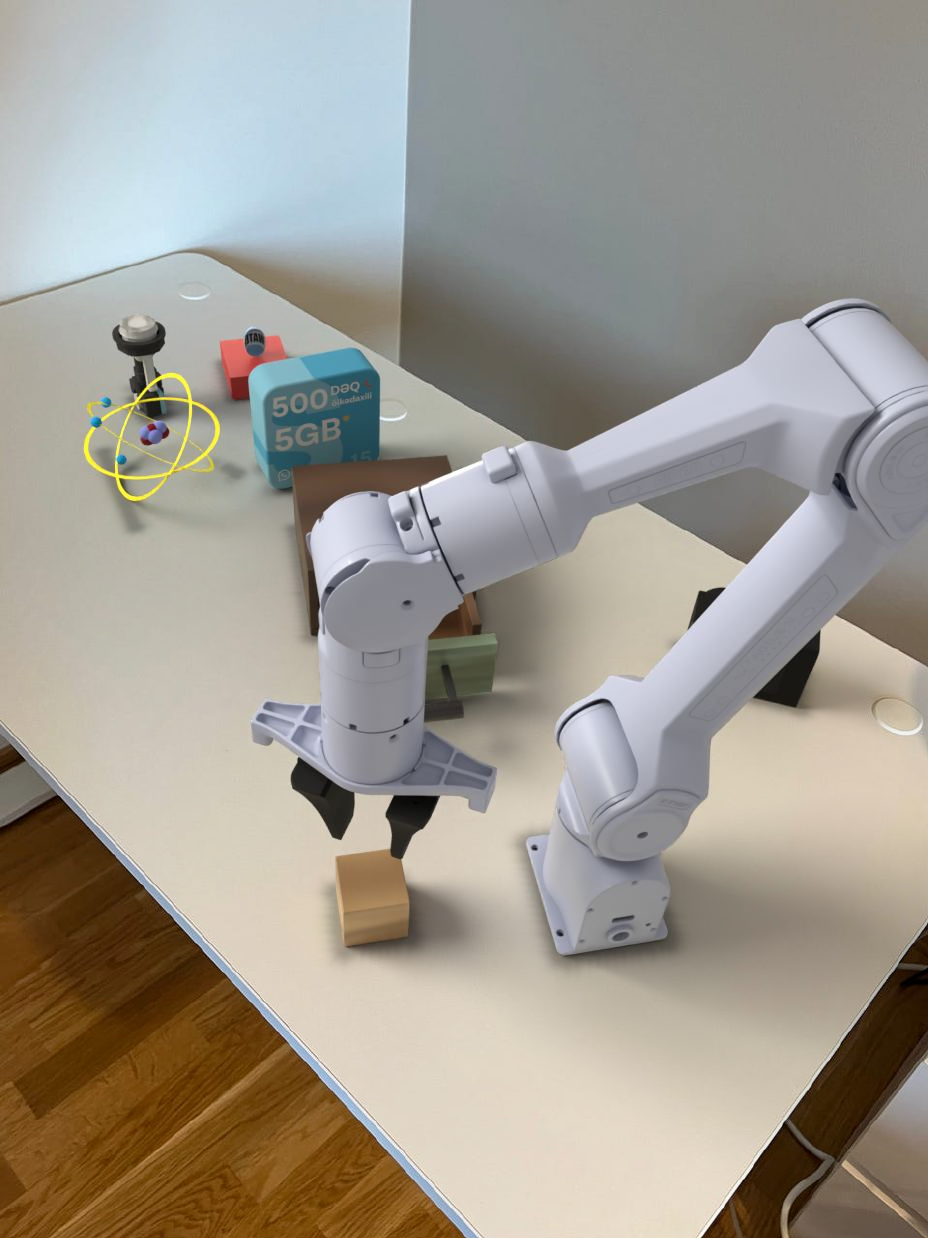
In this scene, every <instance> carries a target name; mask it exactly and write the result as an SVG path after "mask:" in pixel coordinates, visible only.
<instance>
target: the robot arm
mask: <svg viewBox="0 0 928 1238" xmlns="http://www.w3.org/2000/svg"><path fill="white" fill-rule="evenodd" d="M892 323H893V322H892V320H891V318H890V317H889V316H888V315H887V313H886V312H885V311H884V310H883V308H881V307H880V305H878V304H876V303H874V302H872V301H870V300H866V299H862V298H854V297H852V298H849V297H848V298H842V299H837V300H833V301H830V302H828V303H824V304H822V305H821V306H818V307H817V308H815V309H813V310H811V311H809V312H808V313H807V314H805V315H804V316H803V317H802V318H796V319H791V320H789V321H785V322H781V323H778V324H776V325H774V326H772V327H771V328H770V329H769V331H768V332H767V333H766V335H764V337H763V338H762V340H761V341H760V342H759V343H758V345H757V346H756V348H754V350H753V351H752V353H751V354H750V355H749V357H748V358H747V359H746V360H744V361H743V362H742V363H741V364H738V365H737V366H735V367H733V368H730V369H728V370H727V371H724V372H723V373H721V374H719V375H717V376H715V377H712V378H710V379H709V380H707V381H704V382H702V383H701V384H698V385H696V386H694V387H692V388H690V389H688V390H687V391H684V392H682V393H681V394H678V395H676V396H674V397H672V398H670V399H668V400H666V401H664V402H662V403H660V404H659V405H656V406H654V407H652V408H649V409H648V410H646V411H644V412H643V413H640V414H638V415H637V416H634V417H632V418H630V419H628V420H626V421H624V422H622V423H620V424H617V425H616V426H613V427H612V428H610V429H608V430H606V431H604V432H602V433H600V434H598V435H596V436H594V437H593V438H590V439H588V440H585V441H584V442H581V443H580V444H578V445H576V446H574V447H572V448H570V449H567V450H563V449H559V448H556V447H553V446H549V445H547V444H545V443H541V442H538V441H534V440H526V441H524V442H522V443H520V444H517V445H514V446H513V447H510V448H508V446H507V445H501V446H498V447H495V448H493V449H491V450H489V451H487V452H483V454H481V457H480V458H481V460H479V461H475V462H473V463H471V464H469V465H466V466H464V467H461V468H459V469H456V470H454V471H452V473H449V474H447V475H445V476H442V477H440V478H437V479H435V480H433V481H430V482H428V483H425V484H423V485H421V487H420V486H418V487H416V488H413V489H411V490H409V491H404V492H401V493H399V494H396V495H394V496H390V495H387V494H384V493H380V492H372V491H367V492H358V493H354V494H350V495H348V496H345V497H343V498H341V499H339V500H338V501H336V502H335V503H334V504H332V505H331V506H330V507H329V508H328V509H327V510H326V511H325V512H323V514H324V515H323V516H322V518H321V519H319V518H318V520H317V521H316V523H315V525H314V527H313V529H312V532H310V533H308V534H307V535H306V541H307V546H308V549H309V552H310V555H311V557H312V559H313V564H314V571H315V577H316V583H317V589H318V595H319V602H320V609H319V614H318V616H319V626H320V627H319V632H318V635H317V650H318V651H317V652H318V675H319V693H320V694H319V696H320V703H298V702H296V703H294V702H283V701H278V700H274V699H270V698H264V699H263V701H262V702H261V704H260V705H259V707H258V709H257V710H256V712H255V714H254V715H253V716H252V719H251V720H250V728H251V736H252V742H253V743H254V744H258V745H260V746H265V747H268V746H269V747H270V745H272V744H273V741H276V742H277V743H279V744H280V745H282V746H283V747H284V748H286V749H287V750H289V751H290V752H291V753H293V754H294V755H296V756H297V757H296V758H297V759H296V764H295V766H294V767H293V769H292V770H291V773H290V785H291V789H292V790H294V791H295V792H296V793H298V794H300V795H301V796H303V797H304V798H305V799H306V800H307V801H308V802H309V803H310V804H311V805H312V806H313V807H314V809H315V810H316V811H317V812H318V814H319V816H320V817H321V819H322V821H323V822H324V824H325V826H326V828H327V830H328V832H329V834H330V836H331V838H332V839H335V840H338V841H342V840H343V838H344V836H345V834H346V832H347V830H348V829H349V828H348V827H349V825H350V823H351V822H352V820H353V817H354V814H355V807H356V806H355V804H356V798H355V797H356V795H355V794H359V795H368V796H392V798H391V800H390V802H389V804H388V807H387V809H386V811H385V815H384V816H385V817H384V818H386V820H387V822H388V823H389V827H390V833H391V838H390V839H391V840H390V848H389V849H390V853H391V857H394V858H397V859H401V860H403V859H404V857H405V855H406V852H407V850H408V847H409V845H410V843H411V840H412V838H413V836H414V835H415V834H416V833H418V832H419V831H421V830H424V829H425V827H426V826H427V825H428V824H429V822H430V821H431V819H432V817H433V814H434V812H435V809H436V807H437V805H438V802H439V800H440V798H441V797H461V798H464V799H467V800H468V803H467V804H468V805H467V806H468V809H470V810H472V811H475V812H478V813H481V814H486V812H487V810H488V807H489V806H490V803H491V800H492V797H493V794H494V792H495V789H496V783H497V777H498V767H496V766H493V765H490V764H488V763H485V762H482V761H480V760H478V759H476V758H475V757H472V756H471V755H470V754H467V753H466V752H465V751H463V750H461V749H460V748H458V747H457V746H456V745H454V744H452V743H451V742H449V741H448V740H447V739H445V738H444V737H442V736H440V735H439V734H437V733H436V732H435V731H433V730H431V728H430V729H429V728H428V727H427V726H425V725H424V724H425V723H424V708H425V704H426V700H425V687H426V669H427V652H428V636H429V635H430V634H431V633H432V632H433V631H434V630H435V629H436V628H437V626H438V625H439V623H440V622H441V620H442V619H443V617H444V616H446V615H447V614H448V613H450V612H452V611H454V610H456V609H458V605H460V604H462V603H463V602H464V600H463V596H464V594H465V595H466V594H469V593H471V592H474V591H476V592H477V591H478V590H481V589H483V588H485V587H489V586H491V585H493V584H497V583H498V582H501V581H503V580H506V579H508V578H511V577H513V576H516V575H519V574H521V573H523V572H526V571H529V570H531V569H534V568H535V567H538V566H541V565H543V564H546V563H548V562H550V561H554V560H556V559H558V558H560V557H563V556H565V555H567V554H571V553H573V552H574V551H575V549H577V547H578V545H579V543H580V541H581V539H582V537H583V535H584V534H585V531H586V529H587V527H588V525H589V524H590V522H591V520H592V519H593V518H595V517H598V516H601V515H605V514H608V513H610V512H614V511H617V510H620V509H623V508H626V507H630V506H632V505H635V504H639V503H641V502H644V501H647V500H651V499H654V498H657V497H660V496H664V495H666V494H669V493H672V492H676V491H679V490H682V489H685V488H688V487H692V486H694V485H697V484H700V483H704V482H706V481H709V480H713V479H716V478H719V477H722V476H725V475H728V474H731V473H734V472H738V471H740V470H744V469H746V468H756V469H759V470H762V471H764V472H767V473H768V474H771V475H773V476H776V477H777V478H779V479H782V480H784V481H786V482H789V483H791V484H793V485H795V486H798V487H800V488H802V489H805V490H806V491H808V492H809V494H808V496H807V498H806V499H805V500H804V501H803V503H801V504H800V505H799V507H798V508H797V509H796V510H795V511H794V512H793V513H792V514H791V515H790V517H789V518H787V520H786V521H785V522H784V523H783V524H782V525H781V526H780V528H779V529H778V530H777V531H776V532H775V533H774V534H773V536H772V537H770V539H769V540H768V541H767V542H766V543H765V544H764V545H763V546H762V548H761V549H759V551H758V552H757V553H756V554H755V555H754V556H753V558H752V559H750V561H749V562H747V564H746V565H745V566H744V567H743V568H742V570H740V572H739V573H738V574H737V575H736V576H735V577H734V579H732V580H731V582H730V583H729V584H728V585H727V586H726V587H725V588H726V589H725V590H724V591H723V592H722V593H721V594H720V595H719V596H718V597H717V599H716V600H715V601H714V602H713V603H712V604H711V605H710V606H709V607H708V609H707V610H706V611H705V612H704V613H703V614H702V615H701V616H700V617H699V618H698V620H697V621H696V622H695V623H694V624H693V625H692V626H691V627H690V628H689V630H688V631H687V630H686V632H685V633H684V634H683V635H682V636H681V637H680V638H679V640H677V642H676V643H675V644H674V645H673V646H672V647H671V648H670V649H669V650H668V652H667V653H666V654H664V656H663V657H662V658H661V659H660V660H659V662H657V664H656V665H655V666H654V667H653V668H652V669H651V670H650V671H649V673H648V674H647V675H646V676H645V677H643V676H637V675H631V674H630V675H629V674H613V675H609V676H608V677H607V679H606V680H605V681H604V682H603V683H602V684H601V685H600V686H599V687H598V688H597V689H596V690H595V691H593V692H592V693H590V694H589V695H586V696H585V697H583V698H581V699H579V700H578V701H576V702H574V703H573V704H572V705H570V706H569V707H568V708H567V709H566V710H564V711H563V713H562V714H560V716H559V718H558V719H557V721H556V724H555V726H554V731H553V732H554V739H555V743H556V744H557V746H558V748H559V749H560V751H561V752H562V755H563V758H564V761H565V762H564V763H565V765H564V767H563V768H564V774H563V777H562V778H561V780H560V781H561V782H560V784H559V787H558V791H557V796H556V800H555V806H554V810H553V816H552V820H551V825H550V830H549V833H547V834H540V835H533V836H529V837H528V838H527V839H526V841H525V842H526V843H525V847H526V850H527V853H528V857H529V860H530V864H531V868H532V871H533V874H534V878H535V882H536V884H537V887H538V891H539V895H540V898H541V901H542V905H543V908H544V912H545V915H546V918H547V923H548V926H549V929H550V933H551V935H552V939H553V942H554V946H555V950H556V951H557V953H558V954H559V955H561V956H570V955H576V954H583V953H589V952H595V951H601V950H607V949H613V948H619V947H626V946H631V945H637V944H642V943H649V942H655V941H660V940H665V939H666V938H667V936H668V933H669V931H668V927H667V925H666V921H665V919H664V914H665V912H666V910H667V907H668V904H669V901H670V899H671V895H672V889H671V884H670V881H669V879H668V875H667V872H666V870H665V867H664V863H663V857H662V852H664V851H666V850H667V849H669V848H670V847H671V846H673V845H674V844H675V843H676V842H677V841H678V840H679V838H681V836H682V835H683V834H684V833H685V831H686V829H687V827H688V826H689V822H690V820H691V816H692V815H693V813H694V812H695V810H696V809H697V808H698V807H699V806H700V805H701V804H702V803H703V802H705V800H706V799H707V798H708V796H709V789H710V769H711V747H712V746H711V744H712V739H713V738H714V737H715V736H716V735H717V734H718V733H719V732H720V731H721V730H722V729H723V728H724V727H725V726H726V725H727V724H728V723H729V722H730V721H732V719H733V718H734V717H735V716H736V715H737V714H738V713H739V712H740V711H741V710H742V709H743V708H744V707H745V706H746V705H747V704H748V703H749V702H750V701H751V700H752V699H753V698H754V696H755V695H756V694H757V693H758V692H759V691H760V690H761V689H762V688H763V687H764V686H765V685H766V684H767V683H768V682H769V681H770V680H771V679H772V678H773V677H774V676H775V675H776V674H777V673H778V672H779V671H780V670H781V669H782V668H783V667H784V666H785V665H786V664H787V663H788V662H789V661H790V660H791V659H792V658H793V657H794V656H795V655H796V654H797V653H798V652H799V651H800V650H801V649H802V648H803V647H804V646H805V645H806V644H807V643H808V642H809V641H810V640H811V639H812V638H813V637H814V636H815V635H816V634H817V633H818V632H819V631H820V630H821V631H822V629H824V627H825V626H826V625H827V624H828V623H829V622H830V621H831V620H832V619H833V618H834V617H835V616H836V615H837V614H838V613H839V612H840V611H841V610H842V609H843V608H844V607H845V606H846V605H847V604H848V603H849V602H850V601H851V600H852V599H853V598H854V597H855V596H856V595H857V594H858V593H859V592H860V591H861V590H862V589H863V588H864V587H865V586H866V585H867V584H868V583H869V582H871V580H872V579H873V578H874V577H875V576H876V575H877V574H878V573H879V572H880V571H881V570H882V569H883V568H885V566H886V565H887V564H888V563H889V562H890V561H891V560H892V559H893V558H894V557H895V556H896V555H897V554H898V553H899V552H900V551H901V550H902V549H903V548H904V547H905V546H906V545H907V544H908V543H909V542H910V541H911V540H912V539H913V538H914V537H915V536H916V535H917V534H918V533H919V532H920V531H921V530H922V529H923V528H924V527H925V526H926V525H927V524H928V360H927V359H926V358H925V357H924V356H923V355H922V354H921V353H920V352H919V351H918V350H917V349H916V347H914V345H913V344H912V343H911V342H910V341H909V340H908V339H907V338H906V337H905V336H904V335H903V334H902V333H901V332H900V331H899V330H898V329H897V328H896V327H895V326H894V325H893V324H892ZM533 848H534V849H536V850H534V849H533ZM558 933H560V934H562V936H559V935H558Z"/></svg>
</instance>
